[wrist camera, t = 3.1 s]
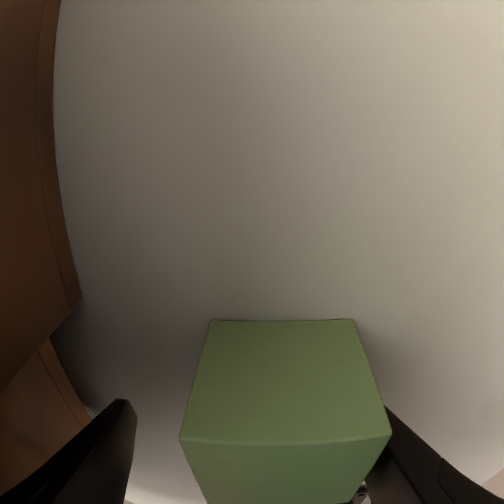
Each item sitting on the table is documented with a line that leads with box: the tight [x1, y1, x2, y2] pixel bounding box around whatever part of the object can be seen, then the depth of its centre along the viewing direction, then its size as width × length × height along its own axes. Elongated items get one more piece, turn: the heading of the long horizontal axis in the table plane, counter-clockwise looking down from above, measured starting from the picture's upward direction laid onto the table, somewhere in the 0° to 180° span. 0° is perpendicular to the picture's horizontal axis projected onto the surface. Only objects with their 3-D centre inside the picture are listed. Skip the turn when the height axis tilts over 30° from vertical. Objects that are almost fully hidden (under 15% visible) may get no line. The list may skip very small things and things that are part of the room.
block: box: [178, 319, 392, 504], centre depth 8 cm, size 4×4×4 cm
